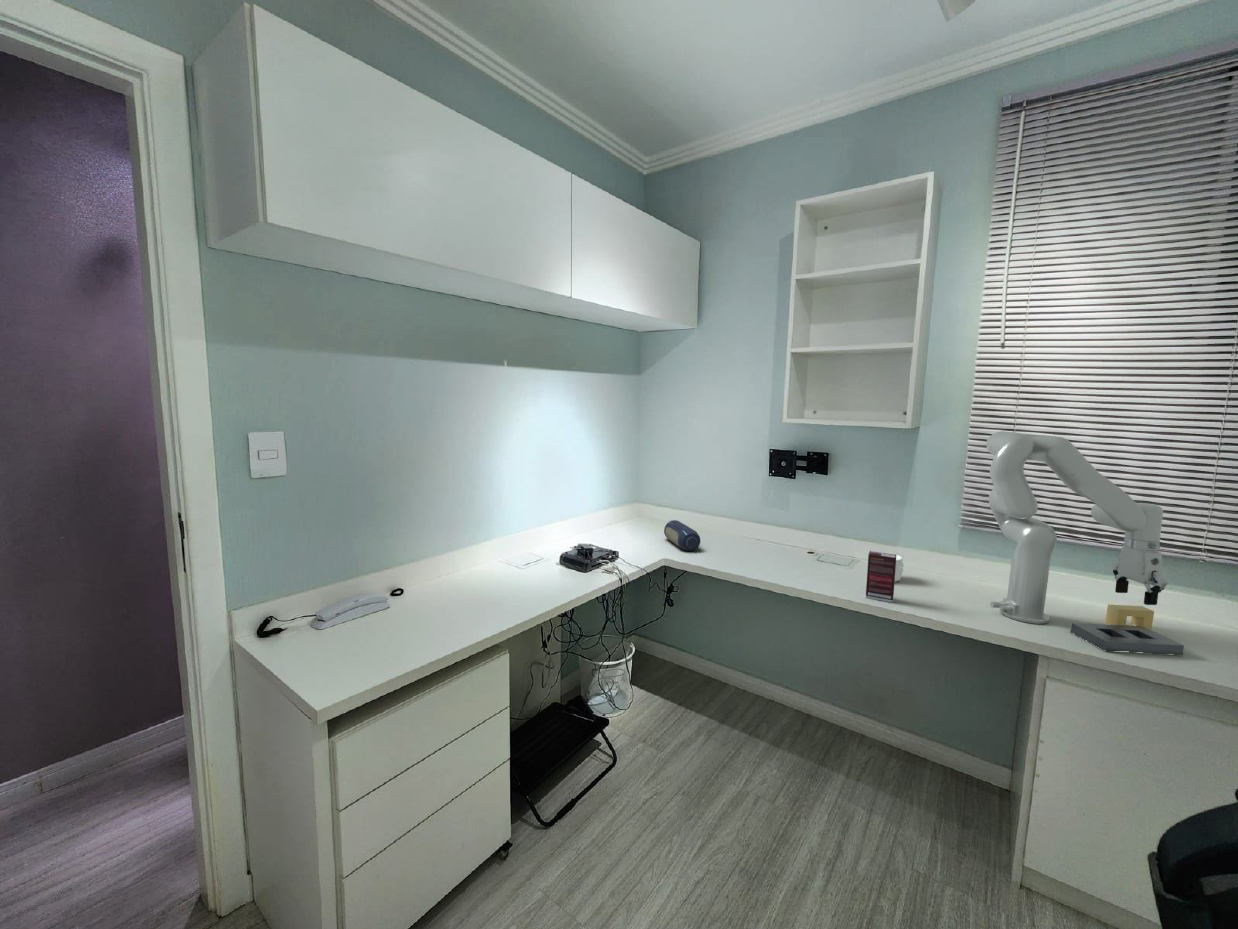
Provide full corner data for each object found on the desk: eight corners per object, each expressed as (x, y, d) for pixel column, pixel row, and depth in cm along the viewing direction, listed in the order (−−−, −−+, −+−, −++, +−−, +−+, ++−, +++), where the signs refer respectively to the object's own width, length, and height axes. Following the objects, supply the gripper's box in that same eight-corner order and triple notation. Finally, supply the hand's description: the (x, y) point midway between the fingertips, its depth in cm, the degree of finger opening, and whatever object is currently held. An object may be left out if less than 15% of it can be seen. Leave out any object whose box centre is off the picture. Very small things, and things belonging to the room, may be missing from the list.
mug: (899, 587, 190) (902, 563, 189) (869, 581, 196) (871, 558, 195) (903, 578, 200) (905, 555, 199) (874, 573, 206) (876, 550, 204)
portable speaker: (661, 539, 250) (661, 518, 249) (680, 537, 253) (680, 517, 251) (681, 554, 226) (682, 531, 225) (702, 552, 229) (703, 530, 228)
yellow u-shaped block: (1116, 628, 158) (1119, 609, 157) (1105, 622, 162) (1107, 604, 161) (1151, 630, 157) (1154, 611, 157) (1139, 624, 161) (1142, 606, 161)
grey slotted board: (1104, 651, 143) (1106, 641, 142) (1070, 632, 154) (1071, 622, 154) (1182, 656, 141) (1184, 645, 141) (1141, 636, 153) (1143, 626, 153)
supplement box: (893, 598, 179) (897, 554, 177) (892, 603, 175) (896, 557, 173) (865, 593, 183) (869, 550, 181) (864, 597, 179) (868, 553, 177)
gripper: (1183, 552, 147) (1176, 610, 150) (1128, 537, 165) (1123, 588, 167) (1155, 552, 148) (1148, 609, 150) (1103, 536, 165) (1098, 588, 167)
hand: (1135, 598), depth 158 cm, fingers open, 9 cm apart
